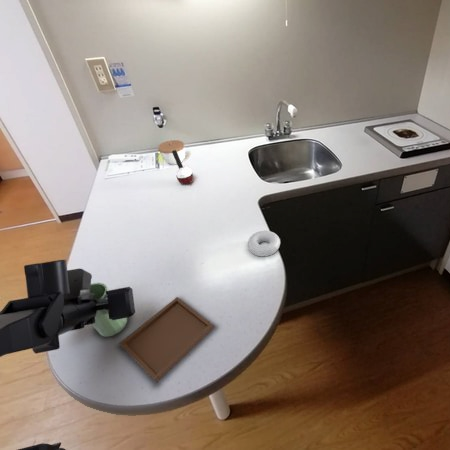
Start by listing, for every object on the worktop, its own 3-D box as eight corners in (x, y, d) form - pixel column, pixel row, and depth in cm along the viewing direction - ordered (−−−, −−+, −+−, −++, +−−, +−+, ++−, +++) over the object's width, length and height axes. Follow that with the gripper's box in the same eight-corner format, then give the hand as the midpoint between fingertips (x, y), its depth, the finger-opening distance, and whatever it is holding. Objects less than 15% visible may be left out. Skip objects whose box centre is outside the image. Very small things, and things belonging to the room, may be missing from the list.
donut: (256, 233, 100) (242, 254, 92) (255, 225, 97) (241, 246, 90) (285, 240, 97) (273, 261, 90) (284, 232, 95) (272, 253, 88)
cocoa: (194, 186, 121) (186, 159, 113) (177, 189, 120) (169, 161, 112) (194, 174, 128) (187, 148, 120) (179, 176, 127) (171, 150, 119)
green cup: (107, 341, 71) (82, 311, 63) (93, 327, 74) (68, 296, 66) (132, 322, 75) (112, 291, 67) (118, 309, 78) (98, 278, 70)
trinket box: (183, 153, 143) (178, 134, 137) (191, 162, 136) (186, 142, 130) (160, 160, 138) (153, 140, 132) (167, 169, 132) (160, 149, 125)
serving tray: (156, 383, 64) (154, 379, 63) (122, 346, 70) (119, 343, 69) (214, 328, 73) (212, 324, 72) (178, 300, 80) (177, 296, 78)
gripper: (111, 264, 58) (140, 262, 73) (-1, 283, 55) (54, 276, 70) (119, 323, 57) (147, 308, 73) (6, 345, 54) (60, 325, 69)
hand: (103, 303), depth 71 cm, fingers closed on green cup, 6 cm apart
